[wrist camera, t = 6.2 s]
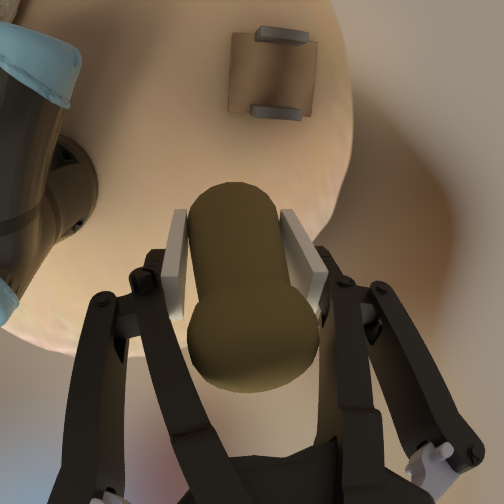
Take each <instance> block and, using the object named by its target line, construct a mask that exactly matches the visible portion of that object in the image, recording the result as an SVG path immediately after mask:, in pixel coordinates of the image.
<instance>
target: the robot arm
mask: <svg viewBox="0 0 504 504" xmlns="http://www.w3.org/2000/svg"><path fill="white" fill-rule="evenodd" d="M81 68H82V56H81V53H80V51H79V50H78V49H77V48H76V47H75V46H73V45H72V44H69V43H67V42H65V41H62V40H60V39H57V38H55V37H52V36H49V35H47V34H44V33H41V32H38V31H35V30H32V29H29V28H26V27H22V26H19V25H15V24H11V23H7V22H3V21H0V327H1V326H3V325H4V324H5V323H6V322H7V321H8V319H9V317H10V316H11V314H12V313H13V311H14V310H15V309H16V308H17V307H18V306H19V301H20V299H21V298H22V296H23V294H24V292H25V290H26V289H27V287H28V285H29V283H30V282H31V280H32V278H33V277H34V275H35V274H36V272H37V270H38V269H39V267H40V266H41V264H42V262H43V261H44V259H45V258H46V256H47V255H48V253H49V252H50V250H51V249H52V247H53V246H54V245H55V244H57V243H58V242H60V241H62V240H64V239H66V238H68V237H70V236H72V235H73V234H75V233H76V232H77V231H79V230H80V229H81V228H82V227H83V225H84V224H85V223H86V221H87V220H88V218H89V217H90V215H91V214H92V212H93V210H94V207H95V204H96V200H97V179H96V174H95V170H94V168H93V165H92V163H91V161H90V159H89V157H88V156H87V154H86V153H85V151H84V150H83V149H82V148H81V147H80V146H79V145H78V144H77V143H75V142H74V141H72V140H71V139H69V138H67V137H64V136H61V135H59V132H60V129H61V126H62V123H63V120H64V117H65V114H66V111H67V109H69V108H70V105H71V102H70V99H71V96H72V92H73V89H74V87H75V84H76V81H77V79H78V76H79V73H80V71H81ZM279 225H280V230H281V235H282V240H283V245H284V250H285V256H286V261H287V266H288V272H289V277H290V282H291V285H292V286H293V287H295V288H297V289H298V291H299V292H300V293H301V294H302V295H303V296H304V297H305V299H306V300H307V301H308V303H309V304H310V305H311V307H312V308H313V310H314V313H316V311H317V308H318V305H319V307H320V309H321V313H320V317H319V319H318V326H319V330H320V331H319V339H320V343H319V347H320V349H319V350H320V351H319V352H320V353H319V354H320V355H319V356H320V358H319V402H318V424H317V434H316V437H315V441H314V444H313V446H310V447H308V448H306V449H304V450H301V451H299V452H297V453H295V454H293V455H290V456H288V457H284V458H279V457H267V456H257V455H252V456H241V457H228V455H227V453H226V451H225V449H224V447H223V445H222V443H221V441H220V438H219V437H218V435H217V432H216V431H215V429H214V427H213V426H212V425H211V423H210V421H209V419H208V417H207V414H206V412H205V410H204V408H203V405H202V403H201V401H200V398H199V396H198V393H197V391H196V388H195V386H194V384H193V381H192V379H191V376H190V374H189V371H188V368H187V366H186V363H185V360H184V358H183V355H182V352H181V349H180V347H179V344H178V341H177V338H176V335H175V332H174V329H173V326H172V323H171V320H184V300H185V283H186V269H187V256H188V231H187V209H175V210H174V214H173V218H172V223H171V227H170V232H169V236H168V241H167V246H166V249H151V251H150V252H149V253H148V254H147V255H146V258H145V262H144V266H143V267H140V268H137V269H135V270H133V271H132V272H131V273H130V275H129V282H130V286H131V290H132V293H130V294H127V295H124V296H120V297H116V296H115V294H114V293H112V292H110V291H103V292H99V293H97V294H95V295H94V296H93V297H92V299H91V300H90V303H89V306H88V310H87V313H86V317H85V320H84V324H83V328H82V332H81V335H80V339H79V344H78V348H77V352H76V357H75V362H74V367H73V371H72V376H71V382H70V387H69V394H68V400H67V407H66V414H65V423H64V432H63V445H62V464H61V468H60V471H59V473H58V476H57V478H56V481H55V484H54V487H53V489H52V492H51V494H50V497H49V500H48V503H47V504H131V503H130V502H128V501H127V500H126V499H124V498H123V497H124V490H125V464H124V403H125V383H126V369H127V358H128V347H129V338H132V337H136V336H140V335H141V339H142V344H143V348H144V352H145V356H146V360H147V364H148V368H149V371H150V375H151V379H152V383H153V386H154V389H155V393H156V396H157V399H158V403H159V406H160V409H161V412H162V415H163V418H164V421H165V424H166V427H167V430H168V432H169V436H170V441H171V444H172V447H173V449H174V452H175V455H176V457H177V460H178V462H179V465H180V467H181V470H182V472H183V474H184V476H185V478H186V481H187V483H188V486H189V490H188V491H187V492H186V494H185V495H184V496H183V497H182V498H181V500H180V501H179V502H178V503H177V504H435V502H436V501H437V500H438V499H439V498H440V497H441V496H442V495H443V494H444V493H445V492H446V491H447V489H448V488H449V487H450V486H451V485H452V484H453V482H455V480H456V479H457V478H458V477H459V476H460V475H461V474H462V473H464V472H467V471H469V470H471V469H472V468H474V467H476V466H478V465H479V464H480V463H481V462H482V461H483V459H484V455H485V448H484V444H483V443H482V441H481V440H480V439H479V437H478V436H477V435H476V433H475V432H474V431H473V430H472V429H471V427H470V426H469V425H468V424H467V422H466V421H465V420H464V419H463V418H462V416H461V415H460V414H459V413H458V410H457V408H456V406H455V403H454V401H453V399H452V397H451V394H450V392H449V390H448V388H447V386H446V384H445V382H444V380H443V378H442V376H441V374H440V372H439V370H438V368H437V366H436V364H435V362H434V360H433V358H432V356H431V354H430V352H429V351H428V349H427V347H426V345H425V344H424V341H423V339H422V338H421V336H420V334H419V332H418V330H417V329H416V327H415V325H414V323H413V322H412V320H411V318H410V317H409V315H408V313H407V312H406V310H405V308H404V307H403V305H402V303H401V302H400V300H399V298H398V297H397V295H396V294H395V292H394V290H393V289H392V288H391V287H390V285H388V284H387V283H385V282H382V281H374V282H372V283H371V285H370V288H368V287H362V286H357V285H356V283H355V281H354V280H353V279H352V278H350V277H348V276H345V275H343V274H342V272H341V270H340V269H339V267H338V266H337V264H336V262H335V261H334V259H333V257H332V256H331V254H330V252H329V251H328V250H327V249H325V248H324V247H323V246H314V245H313V243H312V242H311V240H310V238H309V236H308V235H307V233H306V231H305V230H304V228H303V226H302V225H301V223H300V221H299V220H298V218H297V216H296V215H295V213H294V211H293V210H292V209H281V213H280V220H279ZM380 320H381V322H382V323H381V322H380ZM368 356H369V358H370V361H371V363H372V366H373V369H374V371H375V374H376V376H377V379H378V381H379V384H380V387H381V389H382V392H383V395H384V397H385V400H386V403H387V406H388V408H389V411H390V414H391V417H392V420H393V423H394V426H395V428H396V431H397V434H398V438H399V440H400V443H401V445H402V447H403V450H404V452H405V454H406V455H407V457H408V458H409V464H408V465H407V466H406V469H405V471H406V473H407V475H409V476H411V477H412V481H411V482H409V481H408V480H406V479H404V478H402V477H401V476H399V475H398V474H396V473H394V472H392V471H391V470H389V469H387V468H386V467H384V440H383V426H382V416H381V412H380V411H379V410H377V409H375V408H374V405H373V394H372V385H371V375H370V367H369V358H368Z"/></svg>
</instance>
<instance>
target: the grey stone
mask: <svg viewBox="0 0 504 504" xmlns="http://www.w3.org/2000/svg"><path fill="white" fill-rule="evenodd" d="M19 3H20V0H0V21H3V22H7V23H11V24H12V21H13V20H14V18H15V16H16V14H17V8H18V6H19Z"/></svg>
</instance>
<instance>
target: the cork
mask: <svg viewBox="0 0 504 504" xmlns="http://www.w3.org/2000/svg"><path fill="white" fill-rule="evenodd" d="M187 231H188V239H189V245H190V252H191V258H192V264H193V270H194V276H195V282H196V288H197V293H198V299H199V302H198V303H197V305H196V306H195V309H194V312H193V314H192V317H191V320H190V323H189V326H188V329H187V344H188V350H189V354H190V358H191V361H192V364H193V365H194V367H195V368H196V369H197V371H198V372H199V373H200V374H201V376H202V377H203V378H204V379H205V380H206V381H207V382H208V383H210V384H212V385H214V386H215V387H217V388H220V389H224V390H228V391H232V392H238V393H255V392H263V391H268V390H272V389H275V388H278V387H281V386H283V385H285V384H288V383H290V382H291V381H292V380H294V379H296V378H297V377H298V376H300V375H301V374H303V373H304V372H305V371H306V370H307V369H308V368H309V367H310V366H311V364H312V363H313V361H314V358H315V356H316V353H317V350H318V347H319V343H320V339H319V328H318V321H317V317H316V315H315V313H314V310H313V308H312V307H311V305H310V304H309V303H308V301H307V300H306V299H305V297H304V296H303V295H302V294H301V293H300V292H299V291H298V289H297V288H295V287H293V286H291V283H290V277H289V272H288V266H287V261H286V256H285V250H284V245H283V240H282V235H281V230H280V225H279V219H278V215H277V211H276V207H275V205H274V203H273V202H272V200H271V199H270V197H269V196H268V195H267V194H266V193H264V192H263V191H262V190H260V189H259V188H258V187H256V186H253V185H249V184H246V183H243V182H226V183H223V184H219V185H216V186H213V187H211V188H209V189H208V190H207V191H205V192H204V193H202V194H201V195H199V197H198V198H197V199H196V201H195V202H194V203H193V205H192V206H191V208H190V211H189V214H188V218H187Z"/></svg>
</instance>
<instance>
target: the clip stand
mask: <svg viewBox="0 0 504 504" xmlns="http://www.w3.org/2000/svg"><path fill="white" fill-rule="evenodd" d="M308 37H309V33H308V32H302V31H296V30H290V29H283V28H275V27H266V26H261V27H260V28H259V29H258V30H257V31H256V32H255V34H247V33H232V42H231V58H230V76H229V96H228V112H250V114H251V115H252V116H253V117H255V118H269V119H284V120H295V121H301V118H302V116H306V117H311V110H312V100H313V90H314V79H315V68H316V55H317V42H312V41H308Z"/></svg>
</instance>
